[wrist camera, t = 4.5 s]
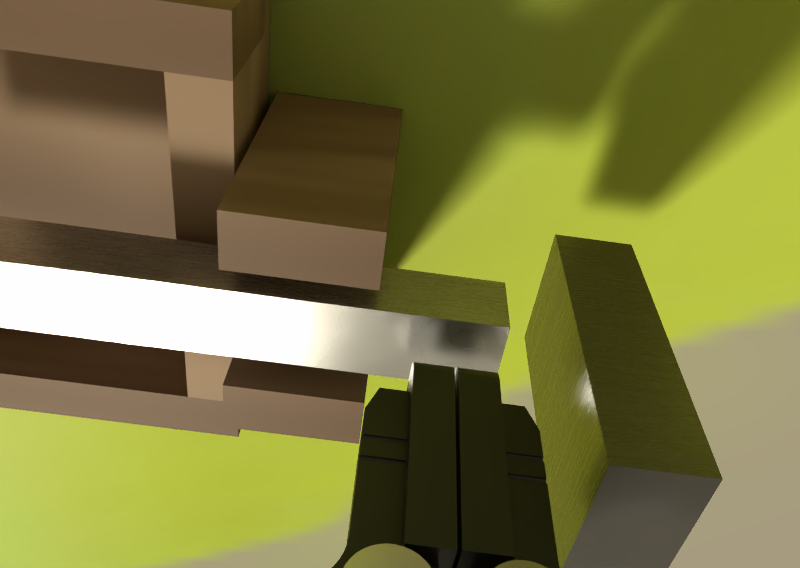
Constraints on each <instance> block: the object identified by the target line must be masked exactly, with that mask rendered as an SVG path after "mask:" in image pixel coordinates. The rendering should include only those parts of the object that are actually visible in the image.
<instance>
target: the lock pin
mask: <svg viewBox="0 0 800 568" xmlns="http://www.w3.org/2000/svg"><path fill="white" fill-rule="evenodd" d="M0 327H2V328H9V329H17V330H25V331H33V332H41V333H49V334H57V335H64V336H72V337H80V338H88V339H96V340H104V341H112V342H119V343H127V344H135V345H143V346H151V347H159V348H167V349H174V350H182V351H190V352H198V353H206V354H214V355H222V356H229V357H237V358H245V359H253V360H261V361H269V362H277V363H284V364H292V365H300V366H308V367H316V368H324V369H332V370H339V371H347V372H355V373H363V374H371V375H379V376H386V377H394V378H402V379H409V377H410V371H411V367H412V363H413V362H418V363H426V364H433V365H441V366H449V367H454V370H455V369H456V368H457V367H458V368H465V369H473V370H480V371H488V372H496V373H498V369H499V366H500V362H501V359H502V355H503V351H504V348H505V344H506V341H507V337H508V334H509V330H510V322H509V313H508V304H507V295H506V287H505V283H503V282H496V281H488V280H481V279H473V278H465V277H458V276H450V275H443V274H435V273H428V272H420V271H412V270H405V269H397V268H390V267H382V274H381V282H380V289H379V290H371V289H363V288H356V287H348V286H340V285H333V284H325V283H317V282H310V281H302V280H295V279H287V278H279V277H272V276H264V275H256V274H249V273H241V272H234V271H226V270H219V263H218V245H216V244H208V243H201V242H193V241H185V240H178V239H170V238H163V237H155V236H148V235H140V234H132V233H125V232H117V231H110V230H102V229H95V228H87V227H79V226H72V225H64V224H57V223H49V222H42V221H34V220H26V219H19V218H11V217H4V216H0ZM525 343H526V351H527V358H528V365H529V372H530V380H531V387H532V394H533V400H534V408H535V415H536V422H537V427H538V429H539V430H540V435H541V443H542V450H543V462H544V464H545V471H546V483H547V485H548V492H549V499H550V506H551V513H552V520H553V527H554V534H555V541H556V548H557V555H558V562H559V566H560V568H668V567H669V566H670V564H671V562H672V561H673V559H674V557H675V556H676V554H677V553H678V551H679V549H680V548H681V546H682V544H683V543H684V541H685V539H686V538H687V536H688V535H689V533H690V532H691V530H692V528H693V527H694V525H695V523H696V522H697V520H698V518H699V517H700V515H701V513H702V512H703V510H704V509H705V507H706V505H707V504H708V502H709V501H710V499H711V497H712V496H713V494H714V492H715V491H716V489H717V487H718V486H719V484H720V483H721V481H722V477H721V474H720V472H719V469H718V466H717V464H716V461H715V459H714V456H713V454H712V451H711V448H710V446H709V443H708V441H707V438H706V435H705V433H704V430H703V428H702V425H701V423H700V420H699V417H698V415H697V412H696V410H695V407H694V405H693V402H692V400H691V397H690V394H689V392H688V389H687V387H686V384H685V381H684V379H683V376H682V374H681V371H680V368H679V366H678V363H677V361H676V358H675V356H674V353H673V350H672V348H671V345H670V343H669V340H668V338H667V335H666V332H665V330H664V327H663V325H662V322H661V320H660V317H659V314H658V312H657V309H656V307H655V304H654V302H653V299H652V296H651V294H650V291H649V289H648V286H647V284H646V281H645V278H644V276H643V273H642V271H641V268H640V266H639V263H638V260H637V258H636V255H635V253H634V250H633V248H632V245H629V244H622V243H614V242H607V241H600V240H592V239H585V238H577V237H570V236H562V235H555V237H554V241H553V244H552V247H551V251H550V254H549V257H548V261H547V264H546V267H545V271H544V274H543V277H542V281H541V284H540V287H539V291H538V294H537V297H536V301H535V304H534V307H533V311H532V314H531V317H530V321H529V324H528V327H527V331H526V334H525Z"/></svg>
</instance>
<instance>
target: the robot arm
mask: <svg viewBox="0 0 800 568" xmlns="http://www.w3.org/2000/svg"><path fill="white" fill-rule="evenodd" d="M332 568H560V566H559V562H558V555H557V548H556V541H555V534H554V527H553V520H552V513H551V506H550V499H549V492H548V485H547V483H546V471H545V464H544V462H543V450H542V443H541V435H540V430H539V429H538V427H537V425H536V424H535V422H534V421H533V419H532V417H531V416H530V414H529V413H528V411H527V409H526V408H525V406H517V405H509V404H502V401H501V390H500V380H499V375H498V373H496V372H488V371H480V370H473V369H465V368H458V367H457V368H456V369H455V370H454V367H449V366H441V365H433V364H426V363H418V362H413V363H412V367H411V371H410V377H409V382H408V387H407V391H401V390H393V389H385V388H379V390H378V391H377V392H376V394H375V395H374V397H373V398H372V399H371V401H370V402H369V404H368V405H367V406H366V408H365V412H364V419H363V426H362V433H361V440H360V447H359V454H358V461H357V468H356V476H355V484H354V492H353V499H352V507H351V515H350V523H349V531H348V539H347V546H346V548H345V551H344V553H343V555H342V556H341V558H340V559H339V560H338V562H337V563H336V564H335V565H334V566H333V567H332Z"/></svg>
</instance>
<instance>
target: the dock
mask: <svg viewBox="0 0 800 568" xmlns="http://www.w3.org/2000/svg"><path fill="white" fill-rule="evenodd" d="M269 37H270V0H0V216H4V217H11V218H19V219H26V220H34V221H42V222H49V223H57V224H64V225H72V226H79V227H87V228H95V229H102V230H110V231H117V232H125V233H132V234H140V235H148V236H155V237H163V238H170V239H178V240H185V241H193V242H201V243H208V244H216V245H218V263H219V270H226V271H234V272H241V273H249V274H256V275H264V276H272V277H279V278H287V279H295V280H302V281H310V282H317V283H325V284H333V285H340V286H348V287H356V288H363V289H371V290H379V289H380V282H381V274H382V267H383V259H384V252H385V244H386V237H387V229H388V221H389V213H390V205H391V197H392V189H393V182H394V174H395V166H396V158H397V150H398V142H399V134H400V126H401V118H402V110H403V109H396V108H388V107H381V106H374V105H367V104H360V103H353V102H345V101H338V100H331V99H324V98H317V97H309V96H302V95H295V94H288V93H281V92H277V94H276V96H275V98H274V100H273V102H272V104H271V106H270V108H269V110H268V102H269ZM367 378H368V374H363V373H355V372H347V371H339V370H332V369H324V368H316V367H308V366H300V365H292V364H284V363H277V362H269V361H261V360H253V359H245V358H237V357H229V356H222V355H214V354H206V353H198V352H190V351H182V350H174V349H167V348H159V347H151V346H143V345H135V344H127V343H119V342H112V341H104V340H96V339H88V338H80V337H72V336H64V335H57V334H49V333H41V332H33V331H25V330H17V329H9V328H2V327H0V407H2V408H10V409H19V410H27V411H35V412H43V413H51V414H59V415H67V416H75V417H83V418H91V419H99V420H107V421H115V422H123V423H132V424H140V425H148V426H156V427H164V428H172V429H180V430H188V431H196V432H204V433H212V434H220V435H228V436H237V437H238V436H239V433H240V430H241V429H245V430H253V431H261V432H269V433H277V434H285V435H293V436H301V437H309V438H317V439H325V440H333V441H341V442H349V443H357V444H359V438H360V431H361V423H362V416H363V409H364V401H365V393H366V385H367Z"/></svg>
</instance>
